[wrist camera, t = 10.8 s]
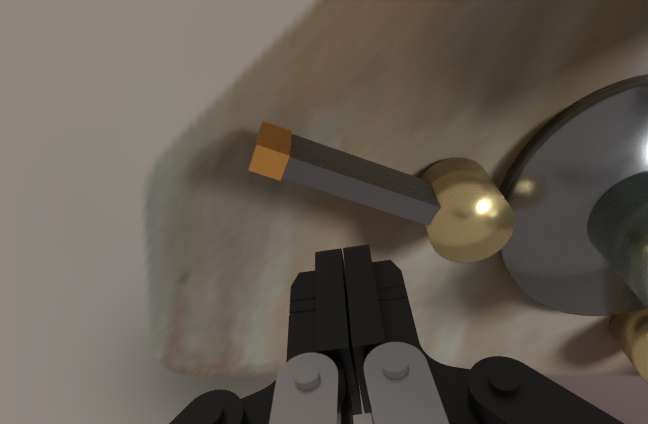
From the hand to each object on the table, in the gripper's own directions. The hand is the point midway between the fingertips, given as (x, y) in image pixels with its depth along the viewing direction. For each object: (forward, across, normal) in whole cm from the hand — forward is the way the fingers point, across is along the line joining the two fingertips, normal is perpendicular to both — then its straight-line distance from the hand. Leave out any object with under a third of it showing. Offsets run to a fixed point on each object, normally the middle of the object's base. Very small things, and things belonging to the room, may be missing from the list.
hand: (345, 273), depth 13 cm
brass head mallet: (+14, -2, +4) cm, 15 cm away
